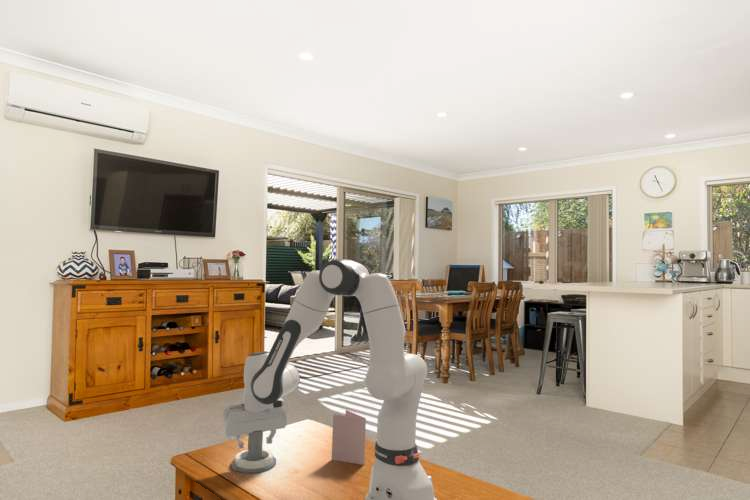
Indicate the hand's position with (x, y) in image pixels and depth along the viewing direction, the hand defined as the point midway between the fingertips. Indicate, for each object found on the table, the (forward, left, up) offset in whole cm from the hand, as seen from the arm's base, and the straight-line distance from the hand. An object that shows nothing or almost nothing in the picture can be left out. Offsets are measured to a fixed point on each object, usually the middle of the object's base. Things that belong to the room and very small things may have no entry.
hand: (254, 445), depth 155 cm
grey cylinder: (0, 0, -5) cm, 5 cm away
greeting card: (-11, -28, -6) cm, 31 cm away
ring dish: (0, 0, -6) cm, 6 cm away
